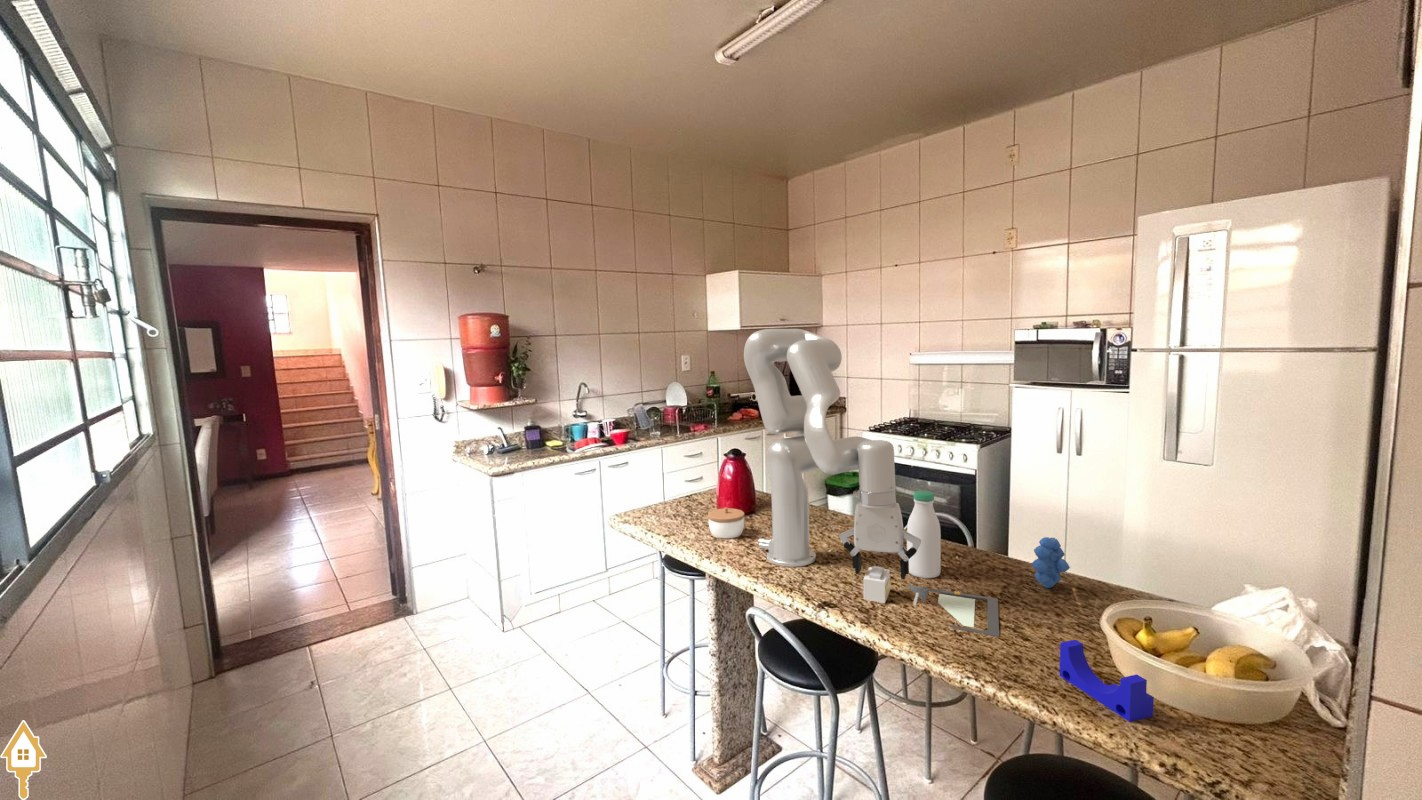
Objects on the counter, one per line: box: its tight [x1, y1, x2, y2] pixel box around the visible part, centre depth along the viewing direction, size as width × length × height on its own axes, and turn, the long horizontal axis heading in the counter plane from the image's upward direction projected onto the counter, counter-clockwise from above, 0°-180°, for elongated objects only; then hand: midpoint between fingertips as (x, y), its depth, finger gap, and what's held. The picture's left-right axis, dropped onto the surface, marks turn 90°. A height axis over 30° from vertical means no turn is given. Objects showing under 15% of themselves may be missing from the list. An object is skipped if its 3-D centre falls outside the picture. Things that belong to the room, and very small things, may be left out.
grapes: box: [1031, 536, 1071, 589], centre depth 126 cm, size 12×7×12 cm, turn 126°
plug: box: [862, 565, 891, 604], centre depth 124 cm, size 5×7×6 cm, turn 154°
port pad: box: [937, 593, 976, 629], centre depth 118 cm, size 7×13×1 cm, turn 154°
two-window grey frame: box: [906, 584, 1000, 638], centre depth 121 cm, size 32×17×1 cm, turn 64°
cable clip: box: [1059, 639, 1155, 723], centre depth 89 cm, size 12×4×6 cm, turn 15°
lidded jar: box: [707, 507, 745, 539], centre depth 166 cm, size 11×11×9 cm
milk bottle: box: [906, 490, 942, 579], centre depth 136 cm, size 8×8×20 cm
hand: (880, 574), depth 123 cm, fingers open, 9 cm apart
